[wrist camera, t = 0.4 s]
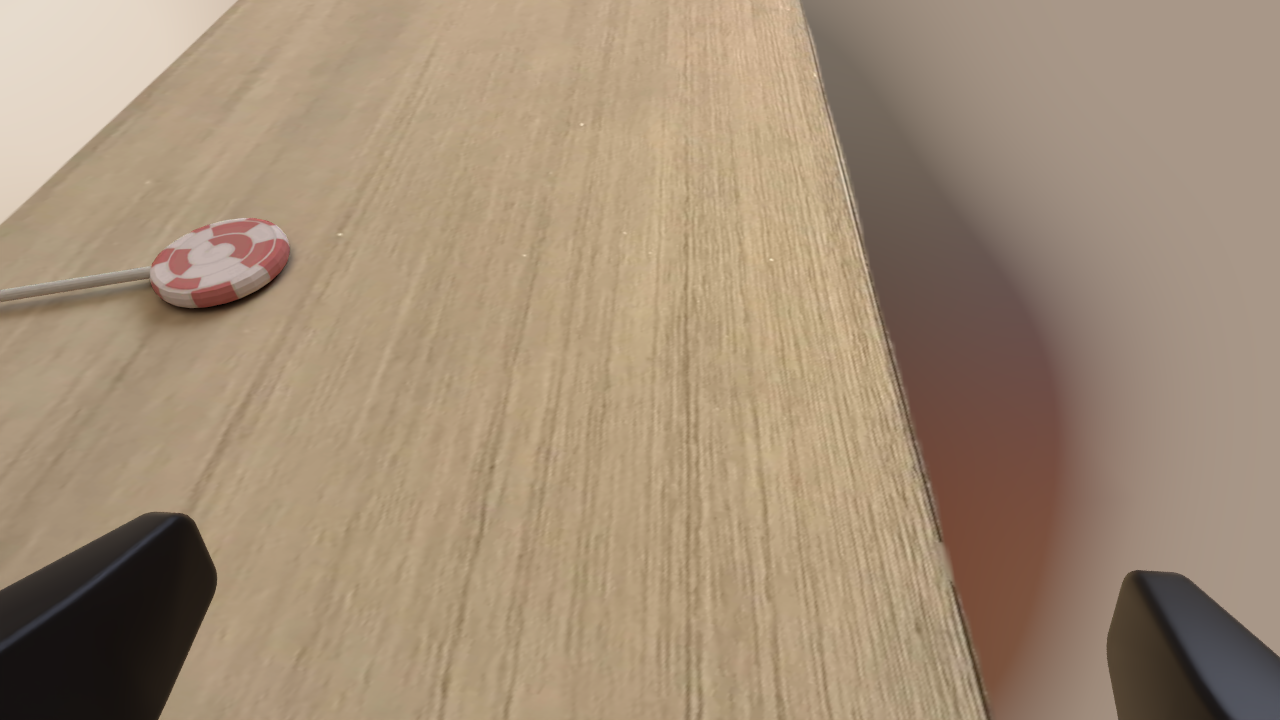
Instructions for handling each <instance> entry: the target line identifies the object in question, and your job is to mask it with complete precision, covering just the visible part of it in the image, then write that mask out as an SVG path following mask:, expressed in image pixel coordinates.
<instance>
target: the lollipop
mask: <svg viewBox="0 0 1280 720" xmlns="http://www.w3.org/2000/svg"><path fill="white" fill-rule="evenodd" d="M289 252H290V247H289V243H288V239H287V237H286V235H285V234H284V232H283V231H282V230H281V229H280V228H279V227H278V226H277V225H275V224H273V223H271V222H269V221H266V220H261V219H256V218H239V219H231V220H225V221H221V222H217V223H213V224H209V225H207V226H204V227H201V228H198V229H196V230H193V231H191V232H190V233H188V234H186V235H184V236H182V237H180V238H178V239H177V240H175V241H174V242H172V243H171V244H170V245H168V246H167V247H166V248H165V249H164V250H163V251H162V252H161V253H160V254H159V255H158V256H157V257H156V259H155V260H154V262H153V263H152V266H149V267H142V268H136V269H130V270H123V271H117V272H111V273H104V274H98V275H92V276H86V277H79V278H73V279H67V280H60V281H54V282H48V283H41V284H35V285H29V286H23V287H16V288H10V289H4V290H0V302H4V301H10V300H17V299H23V298H29V297H35V296H42V295H48V294H54V293H60V292H67V291H73V290H79V289H86V288H92V287H98V286H104V285H111V284H117V283H123V282H129V281H136V280H142V279H148V278H150V281H151V285H152V288H153V289H154V291H155V292H156V293H157V294H158V295H159V296H160V297H161V298H162V299H163V300H164V301H166V302H168V303H170V304H173V305H175V306H179V307H187V308H201V307H210V306H215V305H220V304H225V303H228V302H231V301H234V300H237V299H240V298H242V297H244V296H246V295H249V294H251V293H253V292H255V291H257V290H258V289H260V288H261V287H263V286H264V285H266V284H267V283H269V282H270V281H271V280H273V279H274V278H275V277H276V276H277V275H278V274H279V273H280V272H281V271H282V269H283V268H284V266H285V265H286V263H287V261H288V257H289Z"/></svg>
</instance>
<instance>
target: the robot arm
mask: <svg viewBox="0 0 1280 720" xmlns="http://www.w3.org/2000/svg"><path fill="white" fill-rule="evenodd" d="M216 585H217V573H216V569H215V566H214V564H213V561H212V559H211V557H210V555H209V552H208V550H207V548H206V546H205V543H204V541H203V539H202V537H201V534H200V532H199V530H198V528H197V526H196V524H195V522H194V520H193V519H191V518H190V517H189V516H188V515H185V514H182V513H168V512H150V513H146V514H143V515H141V516H139V517H137V518H135V519H134V520H132V521H130V522H128V523H126V524H124V525H122V526H120V527H119V528H117V529H115V530H113V531H111V532H109V533H107V534H105V535H104V536H102V537H100V538H98V539H96V540H94V541H92V542H91V543H89V544H87V545H85V546H83V547H81V548H79V549H77V550H76V551H74V552H72V553H70V554H68V555H66V556H64V557H62V558H61V559H59V560H57V561H55V562H53V563H51V564H49V565H47V566H46V567H44V568H42V569H40V570H38V571H36V572H34V573H32V574H31V575H29V576H27V577H25V578H23V579H21V580H19V581H17V582H16V583H14V584H12V585H10V586H8V587H6V588H4V589H2V590H1V591H0V720H158V719H159V717H160V715H161V713H162V710H163V708H164V706H165V704H166V702H167V700H168V697H169V695H170V693H171V691H172V688H173V686H174V684H175V682H176V679H177V677H178V675H179V673H180V670H181V668H182V666H183V664H184V661H185V659H186V657H187V655H188V652H189V650H190V648H191V646H192V643H193V641H194V639H195V637H196V634H197V632H198V630H199V628H200V625H201V623H202V621H203V619H204V616H205V614H206V612H207V610H208V607H209V605H210V603H211V601H212V598H213V596H214V593H215V590H216ZM1107 660H1108V667H1109V672H1110V678H1111V683H1112V688H1113V693H1114V698H1115V704H1116V709H1117V714H1118V720H1280V657H1279V656H1278V655H1276V654H1275V653H1274V652H1273V651H1272V650H1271V649H1270V648H1269V647H1267V646H1266V645H1265V644H1264V643H1263V642H1262V641H1260V640H1259V639H1258V638H1257V637H1256V636H1255V635H1253V634H1252V633H1251V632H1250V631H1249V630H1248V629H1246V628H1245V627H1244V626H1243V625H1242V624H1241V623H1240V622H1238V621H1237V620H1236V619H1235V618H1234V617H1232V616H1231V615H1230V614H1229V613H1228V612H1227V611H1226V610H1224V609H1223V608H1222V607H1221V606H1220V605H1219V604H1218V603H1216V602H1215V601H1214V600H1213V599H1212V598H1211V597H1209V596H1208V595H1207V594H1206V593H1205V592H1204V591H1202V590H1201V589H1200V588H1199V587H1198V586H1197V585H1196V584H1194V583H1193V582H1192V581H1191V580H1190V579H1188V578H1186V577H1185V576H1183V575H1181V574H1178V573H1174V572H1158V571H1141V570H1136V571H1132V572H1130V573H1128V574H1127V575H1126V577H1125V578H1124V580H1123V583H1122V586H1121V589H1120V593H1119V597H1118V600H1117V604H1116V608H1115V611H1114V615H1113V618H1112V622H1111V625H1110V629H1109V632H1108V637H1107Z"/></svg>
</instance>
